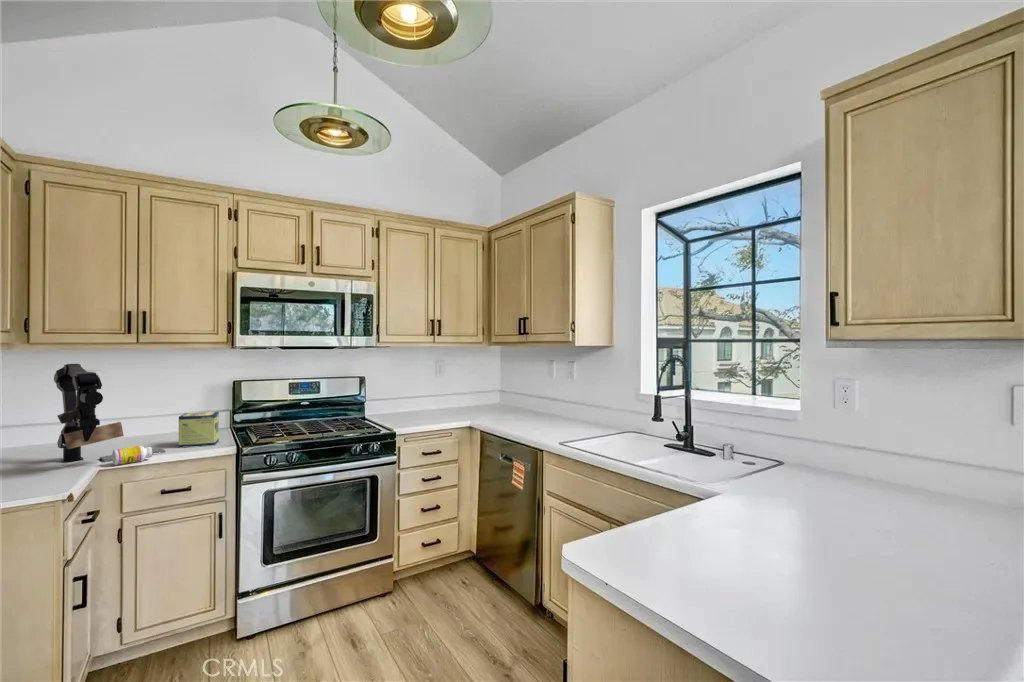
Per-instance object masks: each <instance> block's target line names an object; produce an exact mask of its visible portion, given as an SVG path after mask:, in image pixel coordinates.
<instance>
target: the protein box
mask: <svg viewBox="0 0 1024 682" xmlns="http://www.w3.org/2000/svg"><path fill="white" fill-rule="evenodd" d="M219 414H220V411H207V412H206V411H203V412H186V413H185V412H184V413H183V414H181V415H179V416H178V445H177V446H178V447H183V446H199V447H203V446H202V445H214V446H215V445H216V444H218V442H219V441H220V437H219V436H220V435H219V434H220V433H219V432H220V429H219V428H220V427H219V425H220V422H219V420H220V418H219V417H220V415H219ZM183 448H184V447H183Z"/></svg>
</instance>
